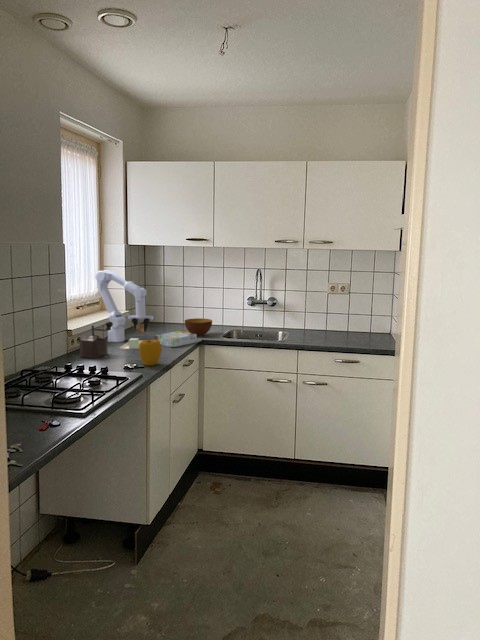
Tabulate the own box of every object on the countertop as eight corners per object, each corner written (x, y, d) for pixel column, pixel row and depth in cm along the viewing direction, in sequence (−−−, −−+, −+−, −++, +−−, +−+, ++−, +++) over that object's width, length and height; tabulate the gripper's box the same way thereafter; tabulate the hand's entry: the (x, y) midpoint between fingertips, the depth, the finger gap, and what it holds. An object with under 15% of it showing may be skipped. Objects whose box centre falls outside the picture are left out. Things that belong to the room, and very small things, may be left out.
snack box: (154, 344, 316) (173, 347, 307) (154, 335, 315) (173, 338, 306) (178, 339, 333) (197, 342, 324) (178, 330, 332) (197, 333, 323)
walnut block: (136, 333, 316) (136, 325, 316) (138, 332, 321) (138, 323, 320) (143, 333, 316) (143, 325, 315) (145, 332, 321) (145, 323, 320)
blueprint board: (118, 349, 302) (118, 348, 302) (130, 341, 326) (130, 340, 325) (148, 350, 301) (148, 348, 300) (158, 342, 324) (158, 340, 324)
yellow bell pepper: (163, 362, 273) (162, 337, 271) (159, 367, 262) (159, 341, 260) (141, 361, 273) (140, 337, 271) (137, 367, 262) (136, 341, 260)
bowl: (187, 339, 335) (187, 323, 333) (182, 334, 351) (182, 318, 350) (214, 337, 339) (214, 322, 338) (209, 332, 356) (208, 318, 355)
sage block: (129, 348, 302) (128, 339, 301) (131, 346, 306) (131, 338, 305) (136, 348, 301) (136, 339, 300) (139, 346, 306) (138, 338, 305)
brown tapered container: (95, 359, 278) (94, 325, 275) (79, 356, 283) (78, 323, 281) (115, 353, 292) (114, 321, 289) (100, 351, 297) (99, 319, 294)
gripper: (126, 309, 313) (127, 332, 315) (151, 309, 312) (151, 332, 314) (129, 307, 320) (130, 329, 322) (153, 308, 319) (154, 330, 321)
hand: (141, 331), depth 318 cm, fingers closed on walnut block, 4 cm apart
